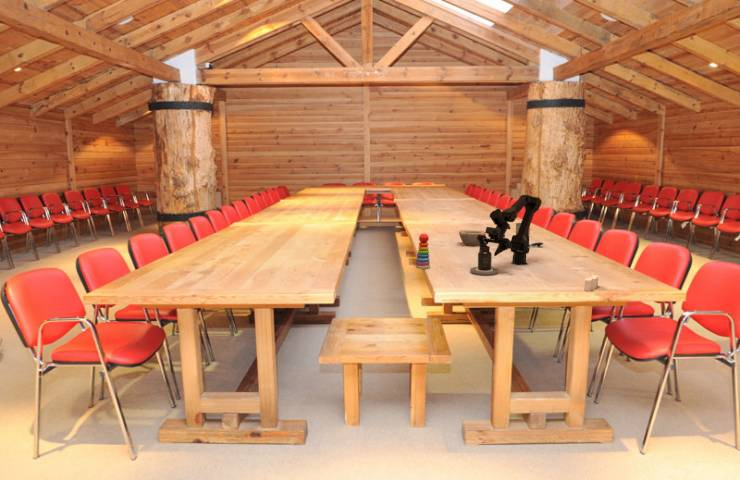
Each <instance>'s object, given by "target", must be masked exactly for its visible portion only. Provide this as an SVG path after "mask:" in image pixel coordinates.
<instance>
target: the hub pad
mask: <svg viewBox="0 0 740 480" xmlns="http://www.w3.org/2000/svg"><path fill="white" fill-rule="evenodd" d="M469 272H470V273H471V275H476V276H481V277H490V276H497V275H498V274H499V270H498V269H497V268H494V267H491V270H488V271H482V270H479V269H478V266H477V267H476V266H475V267H471V268H470V270H469Z"/></svg>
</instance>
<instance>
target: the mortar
mask: <svg viewBox="0 0 740 480" xmlns="http://www.w3.org/2000/svg"><path fill="white" fill-rule="evenodd" d="M458 233H459V237H460V240H461V241H462V243H463V245H465V246H468V247H478V246H480V242H479V241H478V240H477V236H478V235H485V236H486V235H487V233H485V231H483V230H472V229H471V230H470V229H469V230H459V231H458Z"/></svg>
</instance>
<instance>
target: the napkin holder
mask: <svg viewBox="0 0 740 480" xmlns="http://www.w3.org/2000/svg"><path fill="white" fill-rule="evenodd" d="M598 284H599V275H594V274H593V275H591V276H590V277H586V278H585V279H584V285H583V286H584V287H583V288H584V289H583V291H585V292H591V291H592V290H596V289H597V287H598V286H599V285H598Z"/></svg>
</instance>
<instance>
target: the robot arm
mask: <svg viewBox="0 0 740 480" xmlns="http://www.w3.org/2000/svg"><path fill="white" fill-rule="evenodd" d="M541 205H542V199H541V198H540V197H538V196H537V197H536V196H532V195H529V194H521V195H520V196H519V198H518V199H517V200H516V201H514V203H513V204H512V205H511V206H510V207H509V208H508V207H507V208H505V209H503V210H502V209H500V208H496V209H495V210H493V211H492V212H490V213H489V218H490V219H491V221H492V222H493V224H494V225H495V226H496V227H491V226H486V227H485V231H484V232H485V234H486V235H487V236H486V235H478V236H477V240H478V241H479V242H480V244H479V247H480V246H488V244H489V243H492V244H497V245H498V246H497V247H496V250H495V252H494V254H493V256H494V257H496V256H498V255H499V254H501V253H502V252H504V251H507V250H510V253H512V259H511V260H512V261H511V263H512V264H514V265H517V266H519V265H527V264H528V262H527V254H529V253H530V246H529V247H528V246H527V239H526V235H527V233H528V230H529V227H530V226H531V223H532V221H533V218H534V215H535V213H537V211H539V210H540V207H541ZM523 208H524V209H525V211H524V213H523V216H522V219H521V222H520V223H521V225H520V227H519V230H518V233H517V234H516V233H515V234H512V236H511V240H510V238H508V237H506V235H505V234H506V232H507V230H511V225H510V223H514V222H515V221H516V219H517V218H518V213H520V211H521V210H523ZM530 228H531V227H530ZM488 237H489V238H488ZM478 250H479V251H478V252H480V248H479V249H478Z"/></svg>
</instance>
